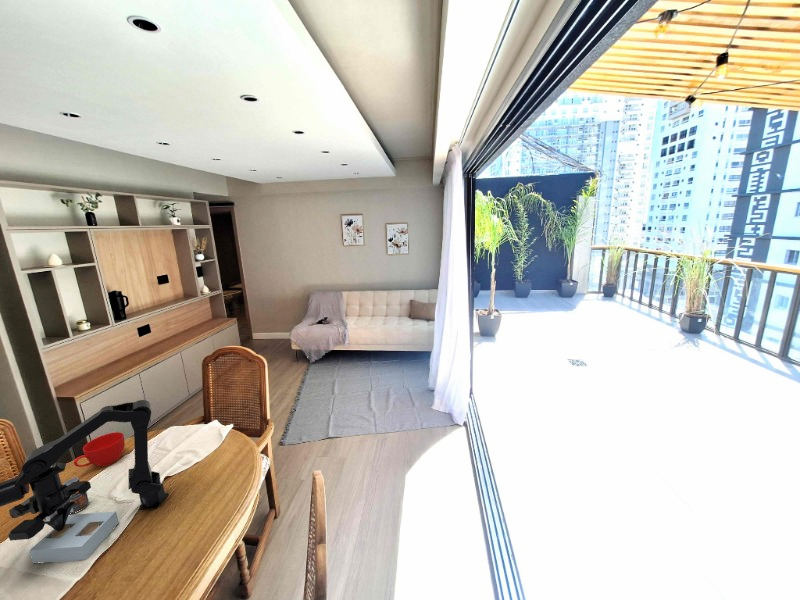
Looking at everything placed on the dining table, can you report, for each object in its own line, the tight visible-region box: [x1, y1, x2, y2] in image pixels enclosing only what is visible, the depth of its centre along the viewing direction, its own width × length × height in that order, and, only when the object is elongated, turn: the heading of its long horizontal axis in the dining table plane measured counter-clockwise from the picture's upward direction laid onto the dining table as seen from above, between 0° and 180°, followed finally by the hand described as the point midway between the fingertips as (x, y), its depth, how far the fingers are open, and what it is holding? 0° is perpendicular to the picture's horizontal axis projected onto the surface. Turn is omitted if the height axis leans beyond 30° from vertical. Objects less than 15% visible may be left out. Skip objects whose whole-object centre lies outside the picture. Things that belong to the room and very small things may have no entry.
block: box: [28, 510, 120, 564], centre depth 97 cm, size 15×12×5 cm
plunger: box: [51, 524, 70, 538], centre depth 96 cm, size 4×4×4 cm
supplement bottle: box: [62, 477, 90, 515], centre depth 109 cm, size 6×6×11 cm
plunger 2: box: [81, 522, 99, 536], centre depth 97 cm, size 4×4×4 cm
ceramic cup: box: [73, 431, 126, 468], centre depth 131 cm, size 13×17×10 cm
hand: (60, 530), depth 96 cm, fingers closed, pressing on plunger
